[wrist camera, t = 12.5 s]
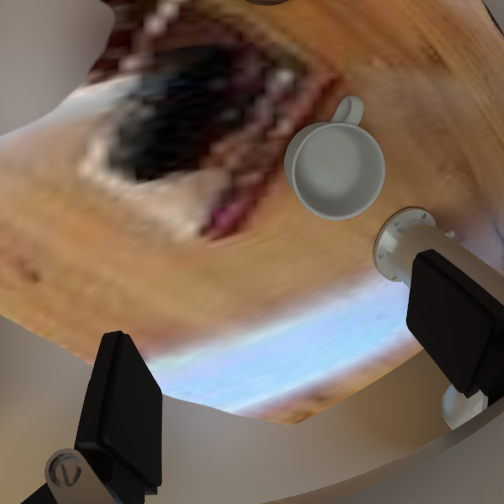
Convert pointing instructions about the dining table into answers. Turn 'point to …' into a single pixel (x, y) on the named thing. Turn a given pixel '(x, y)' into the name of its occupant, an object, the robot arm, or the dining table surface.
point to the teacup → (336, 164)
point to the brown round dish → (266, 2)
